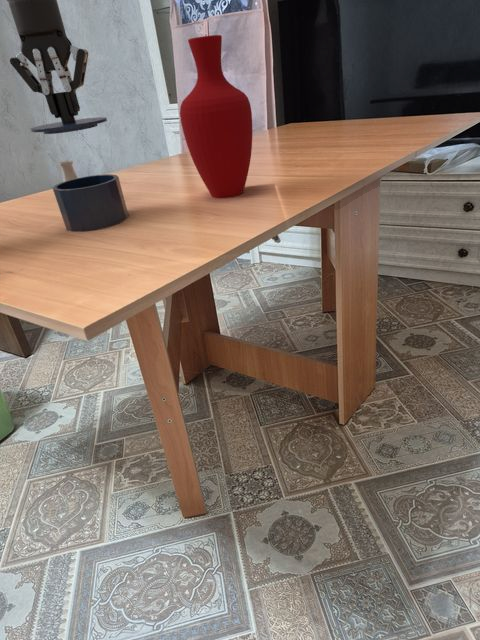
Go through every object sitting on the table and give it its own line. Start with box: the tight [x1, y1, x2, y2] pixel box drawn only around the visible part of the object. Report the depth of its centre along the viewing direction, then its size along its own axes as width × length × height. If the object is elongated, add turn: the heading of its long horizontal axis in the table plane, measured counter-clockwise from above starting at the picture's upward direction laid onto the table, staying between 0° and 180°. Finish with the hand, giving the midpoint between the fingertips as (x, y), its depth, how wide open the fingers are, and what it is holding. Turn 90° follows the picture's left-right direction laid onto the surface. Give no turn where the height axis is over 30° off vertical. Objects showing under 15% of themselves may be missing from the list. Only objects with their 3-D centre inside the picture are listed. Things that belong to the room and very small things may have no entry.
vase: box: [179, 34, 253, 199], centre depth 97 cm, size 15×15×30 cm
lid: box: [30, 91, 108, 135], centre depth 85 cm, size 14×14×6 cm
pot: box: [52, 173, 129, 233], centre depth 94 cm, size 13×13×8 cm
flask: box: [57, 160, 79, 182], centre depth 111 cm, size 7×7×10 cm
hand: (66, 116), depth 86 cm, fingers closed on lid, 2 cm apart
